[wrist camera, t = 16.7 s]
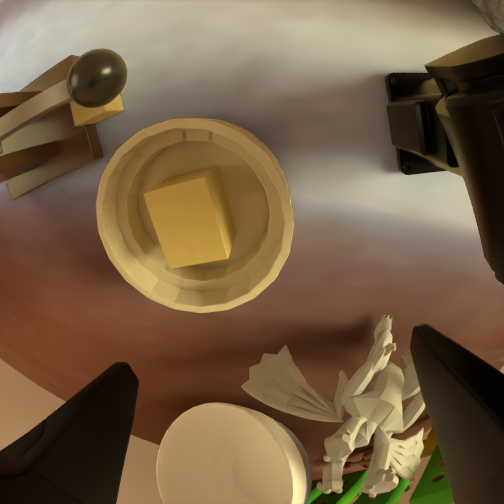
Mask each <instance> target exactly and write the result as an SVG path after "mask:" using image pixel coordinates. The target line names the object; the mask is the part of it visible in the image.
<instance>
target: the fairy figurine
mask: <svg viewBox="0 0 504 504" xmlns="http://www.w3.org/2000/svg"><path fill="white" fill-rule="evenodd" d="M391 322H392V318H391V319H389V316H388V317H386V318H385V315H384V316H383V317H382V320H381V321H380V322H379V323H378V324H377V326H376V329H375V332H374V340H375V342H374V344H373V345H372V347H371V350H370V353H369V356H368V359H367V361H366V362H365V363H364V364H363V365H362V366H361V367H360V368H359V369H358V370H357V371H356V373H355V374H354V375H353V377H352V378H351V380H350V381H349V380H348V378H347V375H346V373H345V371H343V370H342V371H340V373H339V382H338V385H337V390H336V394H335V398H334V402H333V403H331V402H330V401H329V400H327V399H326V398H324V397H323V396H322V395H320V394H319V393H318V392H317V391H315V390H314V389H313V388H312V387H311V386H309V385H308V384H307V382H306V380H305V378H304V377H303V375H302V374H301V372H300V371H299V369H298V368H297V367H296V365H295V364H294V363H293V361H292V357H291V354H290V351H289V349H288V347H287V346H286V345H284V346H283V348H282V349H281V350H280V352H279V353H278V354H268V353H264V354H263V356H262V359H261V362H260V364H257V365H254V366H251V367H249V380H248V381H246V382H245V383H244V384H242V385H241V387H242V389H243V390H245V391H246V392H247V393H248V394H250V395H251V396H253V397H254V398H256V399H258V400H259V401H261V402H263V403H264V404H266V405H268V406H270V407H273V408H275V409H278V410H280V411H283V412H286V413H289V414H292V415H295V416H299V417H302V418H306V419H312V420H317V421H323V422H344V421H343V420H342V418H343V416H344V413H345V411H346V412H348V413H349V414H351V415H352V417H350V418H349V419H348V420H347V421H346V422H345V423H344V424H343V426H342V427H341V428H340V429H339V430H338V431H337V432H336V433H335V434H333V435H332V436H331V437H327V438H326V439H325V442H324V446H325V450H326V452H327V454H326V455H325V456H324V457H323V459H324V461H325V462H329V464H328V465H327V466H326V467H325V468H324V469H323V475H322V479H323V481H322V482H318V484H317V489H318V490H322V491H323V493H325V494H328V493H330V492H331V491H334V492H336V493H341V492H342V486H343V480H342V473H343V466H344V464H345V461H346V460H347V458H348V456H349V454H351V453H352V452H353V450H354V448H357V447H361V446H365V445H368V443H369V441H370V438H371V436H372V434H373V432H374V451H373V454H372V458H371V461H370V465H369V468H368V471H367V477H366V479H365V481H364V482H363V483H362V486H361V487H362V490H363V492H364V493H368V494H369V497H371V498H372V497H376V494H378V493H385V492H390V491H391V490H392V489H394V488H396V486H397V484H398V481H399V479H398V477H397V476H396V475H395V474H396V473H397V474H398V475H399V476H400V477H402V478H404V479H406V480H409V481H414V474H413V473H414V472H415V470H416V469H417V468H418V467H419V466H420V464H421V463H420V455H421V453H422V451H423V448H424V445H423V442H422V436H423V430H424V428H422V429H420V430H419V431H418V432H417V433H416V434H415V435H413V436H410V437H408V438H406V439H405V440H397V439H393V438H390V437H391V436H392V434H393V433H396V434H397V433H403V432H404V431H405V430H406V429H407V428H409V427H410V426H411V425H412V424H413V423H414V422H415V421H416V419H417V418H418V417H419V415H420V414H421V413H422V411H423V410H424V408H425V403H424V400H423V397H422V394H421V391H420V392H419V393H418V391H419V390H420V386H419V382H418V378H417V374H416V371H415V367H414V363H413V359H412V356H411V351H410V349H409V350H408V351H407V352H406V353H405V354H403V355H402V356H400V357H399V358H398V359H403V362H404V363H405V365H406V366H407V367H406V368H405V369H404V370H403V371H402V370H401V368H400V367H398V366H396V365H395V364H394V363H392V362H390V361H388V360H389V357H390V354H391V351H395V350H396V346H395V344H396V343H394V344H392V335H391V333H390V330H391ZM365 387H366V388H365ZM364 389H365V390H364ZM363 390H364V393H363V394H362V395H360V394H361V393H362V392H363ZM417 393H418V395H417V396H416V397H415V398H414V399H413V400H412V401H411V402H410V404H409V405H408V407H407V408H406V409H405V411H404V412H403V413H402V402H401V401H403V400H405V399H407V398H409V397H411V396H413V395H415V394H417ZM389 466H390V467H391V468H389Z"/></svg>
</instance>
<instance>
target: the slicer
mask: <svg viewBox="0 0 504 504" xmlns="http://www.w3.org/2000/svg"><path fill="white" fill-rule="evenodd" d="M78 58H79V56H74V55H70V56H69V57H67V58H66V59H64V60H63V61H61V62H60V63H58V64H57V65H55V66H54V67H52V68H51V69H49V70H48V71H46V72H45V73H43V74H42V75H41V76H39V77H38V78H37V79H35V80H34V81H33V82H31V83H30V84H29V85H27V86H26V87H25V88H24V89H22V90H21V91H20V92H13V93H1V94H0V118H1V117H3V116H4V115H6V114H7V113H9V112H10V111H12V110H13V109H15V108H16V107H18V106H19V105H21V104H23V103H24V102H26V101H28V100H29V99H31V98H33V97H34V96H36V95H38V94H39V93H41V92H43V91H45V90H47V89H48V88H50V87H52V86H54V85H56V84H58V83H60V82H62V81H64V80H66V79H67V76H68V73H69V70H70V68H71V66H72V65H73V63H74V62H75V61H76V60H77V59H78ZM1 144H2V149H3V153H2V154H0V183H2V182H4V181H6V182H7V186H8V189H9V192H10V195H11V199H12V200H15V199H17V198H19V197H21V196H23V195H24V194H26V193H28V192H30V191H32V190H34V189H36V188H38V187H39V186H41V185H43V184H45V183H47V182H49V181H51V180H53V179H55V178H57V177H60V176H62V175H64V174H66V173H68V172H70V171H72V170H75V169H77V168H79V167H81V166H84V165H86V164H88V163H90V162H93V161H95V160H98V159H100V158H102V157H103V155H102V151H101V148H100V144H99V140H98V136H97V133H96V129H95V125H94V124H88V125H80V126H75V124H74V119H73V115H72V111H71V106H70V103H68V104H66V105H63V106H61V107H60V108H58V109H56V110H54V111H52V112H50V113H48V114H46V115H44V116H42V117H41V118H39V119H37V120H35V121H33V122H32V123H30V124H28V125H27V126H25V127H23V128H22V129H20V130H18V131H17V132H15V133H13V134H12V135H10V136H9V137H7V138H6V139H4V140H3V141H1Z"/></svg>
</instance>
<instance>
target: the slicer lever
mask: <svg viewBox="0 0 504 504" xmlns="http://www.w3.org/2000/svg"><path fill="white" fill-rule="evenodd" d="M126 79H127V68H126V64H125V62H124V60H123V59H122V57H121V56H120V55H119V54H117V53H116V52H114V51H112V50H109V49H94V50H91V51H88V52H86V53H84V54H83V55H81V56H80V57H79V58H78V59H77V60H76V61H75V62H74V63H73V65H72V66H71V68H70V70H69V73H68V76H67V79H66V80H64V81H62V82H60V83H58V84H56V85H54V86H52V87H50V88H48V89H47V90H45V91H43V92H41V93H39V94H38V95H36V96H34V97H33V98H31V99H29V100H28V101H26V102H24V103H23V104H21V105H19V106H18V107H16V108H15V109H13V110H12V111H10V112H9V113H7V114H6V115H4V116H3V117H1V118H0V154H2V153H3V149H2V144H1V141H3V140H4V139H6V138H7V137H9V136H10V135H12V134H13V133H15V132H17V131H18V130H20V129H22V128H23V127H25V126H27V125H28V124H30V123H32V122H33V121H35V120H37V119H39V118H41V117H42V116H44V115H46V114H48V113H50V112H52V111H54V110H56V109H58V108H60V107H61V106H63V105H66V104H68V103H70V102H72V101H75V102H76V103H77V104H79V105H81V106H83V107H87V108H97V107H101V106H104V105H106V104H108V103H110V102H112V101H113V100H114V99H115V98H116V97H117V96H118V95H119V94H120V93H121V91H122V90H123V88H124V86H125V83H126Z"/></svg>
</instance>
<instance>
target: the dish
mask: <svg viewBox="0 0 504 504" xmlns="http://www.w3.org/2000/svg"><path fill="white" fill-rule="evenodd" d="M213 166H218V167H219V170H220V174H221V178H222V182H223V186H224V190H225V194H226V197H227V201H228V205H229V209H230V213H231V217H232V220H233V224H234V228H235V232H236V235H235V239H234V242H233V245H232V248H231V252H230V255H229V258H228V259H224V260H218V261H213V262H207V263H201V264H195V265H190V266H184V267H178V268H172V269H169V266H168V264H167V261H166V258H165V256H164V253H163V250H162V247H161V245H160V242H159V239H158V236H157V233H156V231H155V228H154V225H153V222H152V219H151V216H150V213H149V210H148V207H147V204H146V201H145V198H144V193H145V192H146V191H148V190H149V189H151V188H152V187H154V186H156V185H157V184H159V183H160V182H162V181H163V180H165V179H168V178H171V177H175V176H178V175H182V174H186V173H190V172H193V171H197V170H201V169H205V168H209V167H213ZM96 214H97V225H98V232H99V235H100V238H101V240H102V243H103V245H104V248H105V250H106V253H107V255H108V257H109V259H110V261H111V262H112V263H113V265H114V266H115V267H116V269H117V270H118V271H119V273H120V274H121V275H122V276H123V278H124V279H125V280H126V281H127V282H128V283H129V284H131V285H132V286H133V287H134V288H136V289H137V290H138V291H139V292H141V293H142V294H143V295H145V296H146V297H147V298H149V299H151V300H154V301H156V302H158V303H160V304H163V305H165V306H167V307H170V308H172V309H176V310H182V311H189V312H196V313H207V312H215V311H223V310H228V309H231V308H234V307H236V306H238V305H241V304H243V303H245V302H247V301H250V300H252V299H254V298H255V297H256V296H257V295H258V294H260V293H261V292H262V291H263V290H264V289H265V288H266V287H267V286H268V285H270V284H271V283H272V282H273V281H274V280H275V279H276V277H277V275H278V274H279V272H280V270H281V268H282V266H283V265H284V263H285V261H286V259H287V257H288V255H289V253H290V249H291V242H292V236H293V230H294V223H295V222H294V221H295V220H294V215H293V210H292V204H291V199H290V194H289V189H288V184H287V179H286V176H285V173H284V172H283V170H282V168H281V166H280V165H279V163H278V161H277V160H276V158H275V156H274V154H273V153H272V151H271V150H270V149H269V148H268V147H267V146H266V145H265V144H264V143H262V142H261V141H260V140H259V139H258V138H257V137H255V136H254V135H253V134H252V133H251V132H250V131H247V130H246V129H244V128H241V127H239V126H236V125H234V124H231V123H229V122H226V121H224V120H221V119H208V118H175V119H170V120H167V121H164V122H161V123H158V124H155V125H152V126H149V127H146V128H144V129H142V130H140V131H139V132H137V133H136V134H135V135H134V136H132V137H131V138H130V139H129V140H127V141H126V142H125V143H124V144H123V145H121V146H120V147H119V148H118V149H117V150H116V152H115V153H114V155H113V157H112V158H111V160H110V162H109V163H108V165H107V167H106V168H105V170H104V172H103V174H102V176H101V180H100V185H99V189H98V194H97V199H96Z"/></svg>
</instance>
